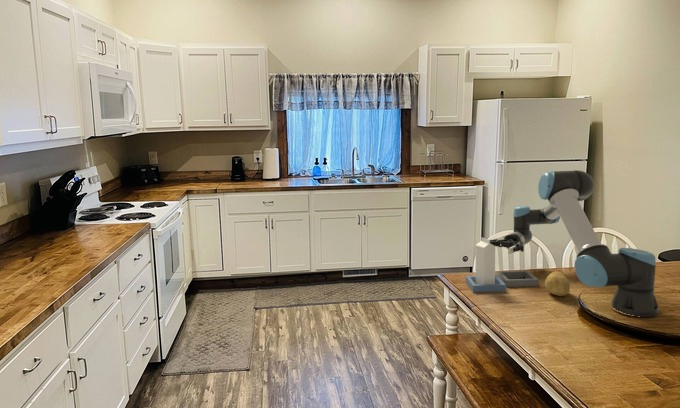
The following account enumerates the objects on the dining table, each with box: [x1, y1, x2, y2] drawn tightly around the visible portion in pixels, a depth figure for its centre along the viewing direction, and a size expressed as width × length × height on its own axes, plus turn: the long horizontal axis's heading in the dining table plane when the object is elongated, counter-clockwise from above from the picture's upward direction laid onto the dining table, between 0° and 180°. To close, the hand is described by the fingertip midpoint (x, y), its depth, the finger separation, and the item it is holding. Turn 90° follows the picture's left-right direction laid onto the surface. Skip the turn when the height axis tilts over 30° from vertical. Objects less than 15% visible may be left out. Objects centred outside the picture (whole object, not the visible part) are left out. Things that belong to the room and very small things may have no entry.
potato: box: [544, 270, 571, 297], centre depth 199 cm, size 10×14×10 cm
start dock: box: [496, 270, 539, 288], centre depth 218 cm, size 14×14×3 cm
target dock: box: [465, 274, 507, 293], centre depth 212 cm, size 14×14×3 cm
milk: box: [475, 237, 496, 285], centre depth 211 cm, size 6×6×22 cm
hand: (494, 249), depth 218 cm, fingers open, 13 cm apart
